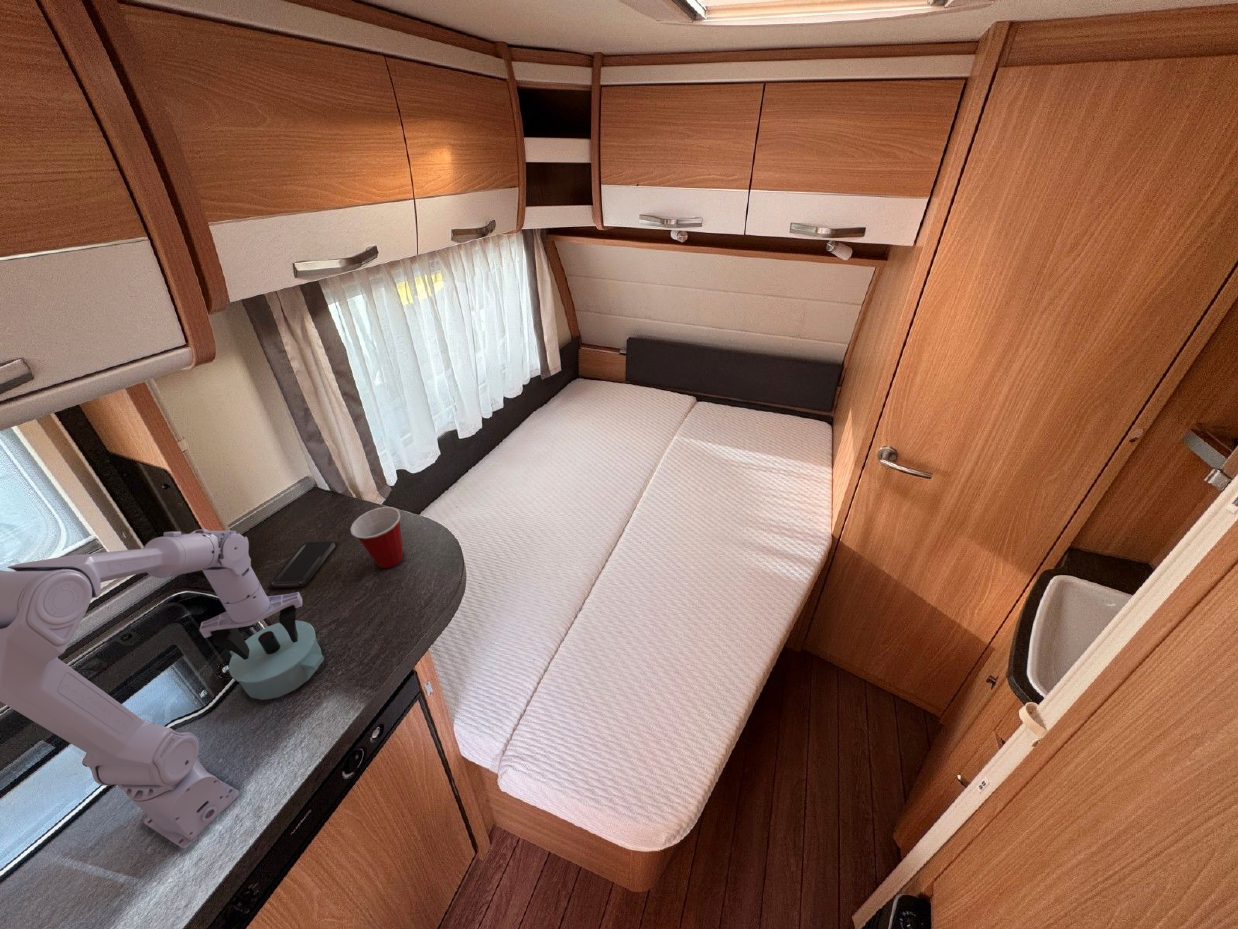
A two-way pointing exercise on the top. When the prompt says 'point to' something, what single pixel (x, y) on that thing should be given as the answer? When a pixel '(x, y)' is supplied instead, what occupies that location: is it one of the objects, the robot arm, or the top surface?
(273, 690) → the pot
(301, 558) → the phone
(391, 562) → the plastic cup
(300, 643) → the lid
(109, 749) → the robot arm
